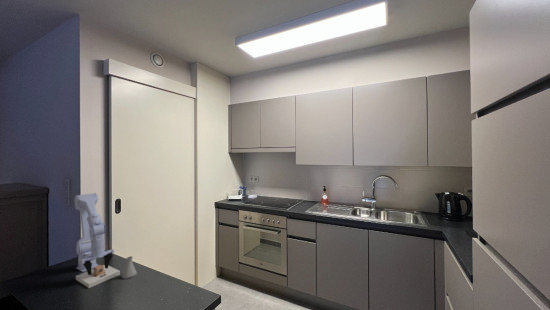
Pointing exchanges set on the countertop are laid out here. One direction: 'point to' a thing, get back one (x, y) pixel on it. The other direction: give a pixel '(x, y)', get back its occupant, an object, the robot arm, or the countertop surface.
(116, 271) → the socket
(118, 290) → the countertop surface
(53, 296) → the countertop surface
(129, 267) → the flask
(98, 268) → the plug
